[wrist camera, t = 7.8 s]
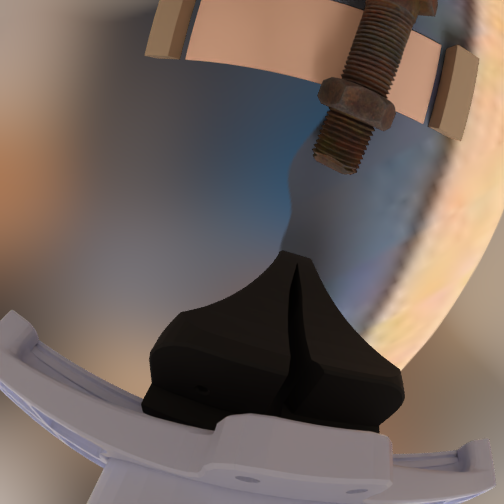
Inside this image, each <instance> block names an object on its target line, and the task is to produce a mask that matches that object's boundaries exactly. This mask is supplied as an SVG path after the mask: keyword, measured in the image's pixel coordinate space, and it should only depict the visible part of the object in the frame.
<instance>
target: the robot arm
mask: <svg viewBox="0 0 504 504" xmlns="http://www.w3.org/2000/svg"><path fill="white" fill-rule="evenodd" d="M149 362H150V371H151V380H152V384H151V386H150V388H149V390H148V391H147V393H146V395H145V397H144V399H142V398H140V397H137V396H135V395H133V394H131V393H129V392H127V391H125V390H123V389H121V388H119V387H117V386H114V385H113V384H111V383H109V382H107V381H105V380H103V379H101V378H99V377H97V376H95V375H94V374H92V373H90V372H88V371H87V370H85V369H83V368H82V367H80V366H78V365H76V364H75V363H73V362H71V361H70V360H68V359H67V358H65V357H63V356H62V355H60V354H59V353H57V352H56V351H54V350H53V349H51V348H50V347H48V346H47V345H45V344H44V343H42V342H41V341H40V340H39V338H38V335H37V332H36V330H35V329H34V327H33V326H32V325H31V324H30V323H29V322H28V321H27V320H26V319H24V318H23V317H22V316H20V315H19V314H18V313H16V312H15V311H14V310H10V311H9V312H8V313H7V314H6V315H5V316H4V318H3V319H2V320H1V321H0V389H1V391H2V392H3V393H4V394H5V395H7V396H8V397H9V398H10V399H11V400H12V401H13V402H14V403H15V404H16V405H17V406H19V407H20V408H21V409H22V410H23V411H24V412H25V413H27V414H28V415H29V416H30V417H31V418H33V419H34V420H35V421H36V422H37V423H39V424H40V425H41V426H42V427H43V428H45V429H46V430H47V431H49V432H50V433H51V434H53V435H54V436H55V437H57V438H58V439H60V440H61V441H62V442H63V443H65V444H66V445H68V446H69V447H71V448H72V449H74V450H75V451H76V452H78V453H80V454H81V455H83V456H84V457H86V458H87V459H89V460H91V461H92V462H94V463H96V464H97V465H99V466H101V467H102V468H104V469H103V472H102V474H101V476H100V478H99V480H98V482H97V484H96V486H95V488H94V490H93V492H92V494H91V496H90V498H89V500H88V502H87V504H460V503H463V502H465V501H467V500H469V499H472V498H473V497H476V496H478V495H480V494H482V493H484V492H486V491H488V490H490V489H492V488H494V487H495V486H496V479H495V471H494V464H493V458H492V452H491V447H490V442H489V439H488V438H484V439H477V440H473V441H470V442H468V443H466V444H465V445H463V446H461V447H460V448H459V449H458V450H453V451H444V452H433V453H417V454H393V453H392V443H391V441H390V439H389V437H387V436H386V435H382V434H379V425H380V424H381V423H383V422H384V421H385V420H386V419H388V418H389V417H390V416H391V415H392V414H393V413H395V412H396V411H397V410H398V409H399V407H400V406H401V405H402V403H403V401H404V398H405V394H404V387H403V381H402V376H401V372H400V369H399V368H397V367H396V366H395V365H393V364H392V363H391V362H389V361H388V360H387V359H385V358H384V357H383V356H381V355H380V354H379V353H378V352H377V351H376V350H374V349H373V348H372V347H371V346H370V345H369V344H368V343H367V342H366V341H365V340H364V339H363V338H362V337H361V336H360V335H359V334H358V333H357V332H356V331H355V330H354V329H353V327H352V326H351V325H350V324H349V323H348V322H347V320H346V319H345V318H344V316H343V315H342V314H341V312H340V311H339V310H338V308H337V307H336V305H335V304H334V302H333V301H332V299H331V297H330V296H329V294H328V292H327V291H326V289H325V287H324V285H323V283H322V281H321V279H320V277H319V275H318V273H317V271H316V269H315V266H314V264H313V262H312V260H311V259H310V258H306V257H303V256H300V255H296V254H293V253H290V252H286V251H283V250H282V251H280V252H279V254H278V256H277V258H276V259H275V260H274V262H273V263H272V264H271V265H270V266H269V268H267V270H266V271H265V272H264V273H262V274H261V275H260V276H259V277H258V278H257V279H255V280H254V281H253V282H252V283H250V284H249V285H248V286H246V287H245V288H243V289H242V290H240V291H238V292H236V293H235V294H233V295H231V296H230V297H227V298H225V299H223V300H221V301H218V302H216V303H213V304H211V305H208V306H205V307H201V308H197V309H194V310H189V311H185V312H181V313H180V314H178V315H177V317H175V319H174V320H173V321H172V322H171V323H170V324H169V325H168V326H167V327H166V329H165V330H164V331H163V332H162V334H161V335H160V337H159V338H158V340H157V342H156V343H155V345H154V347H153V349H152V350H151V352H150V358H149Z"/></svg>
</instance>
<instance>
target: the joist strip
mask: <svg viewBox="0 0 504 504" xmlns="http://www.w3.org/2000/svg"><path fill="white" fill-rule="evenodd" d="M195 2H196V0H160V1H159V4H158V7H157V11H156V14H155V17H154V21H153V24H152V28H151V32H150V36H149V40H148V43H147V48H146V52H145V56H149V57H154V58H158V59H159V58H160V59H180V57H181V52H182V49H183V45H184V41H185V37H186V33H187V30H188V26H189V22H190V19H191V15H192V12H193V8H194V5H195ZM363 12H364V11H363V10H360V9H357V8H354V7H351V6H348V5H345V4H341V3H338V2H334V1H330V0H201V3H200V6H199V10H198V13H197V17H196V20H195V24H194V27H193V31H192V35H191V39H190V43H189V46H188V50H187V54H186V60H196V61H206V62H207V61H208V62H217V63H224V64H231V65H238V66H244V67H250V68H256V69H261V70H266V71H271V72H276V73H280V74H285V75H289V76H293V77H298V78H301V79H305V80H309V81H312V82H316V83H319V84H322V82H323V80H325V79H328V78H330V77H335V78H342V77H341V74H344V73H343V71H342V70H344V69H345V67H344V65H347V64H346V60H348V59H347V57H348V56H350V55H349V52H350V51H351V50H350V48H351V47H352V43H354V42H353V40H354V39H355V37H354V36H355V35H356V31H357V30H358V29H357V28H358V26H359V23H360V20H361V19H362V15H363ZM407 41H408V42H407V44H406V47H405V48H404V52H403V55H402V60H400V61H401V63H400V64H398V65H399V68H396V69H397V70H398V71H397V72H396V73H395V74H396V76H395V77H393V78H394V79H395V80H394V81H391V82H392V84H393V85H390V88H391V90H388V92H389V93H390V94H386V96H387V97H388V98H387V99H388V100H389V101H391V102H392V103H393V104H394V106H395V111H396V112H399V113H401V114H403V115H405V116H407V117H410V118H412V119H414V120H416V121H418V122H420V123H422V124H423V123H424V119H425V116H426V112H427V108H428V105H429V101H430V97H431V93H432V89H433V84H434V80H435V76H436V71H437V66H438V61H439V56H440V50H441V45H440V44H438V43H436V42H434V41H432V40H430V39H429V38H427V37H425V36H423V35H421V34H419V33H417V32H415V31H413V30H411V32H410V36H409V39H408V40H407ZM478 65H479V58H477V57H476V56H474V55H473V54H472V53H470V52H469V51H467V50H465V49H464V48H462V47H461V46H459V45H455V46H452V47H450V48H447V49H446V53H445V59H444V64H443V69H442V74H441V79H440V83H439V88H438V92H437V96H436V100H435V104H434V108H433V111H432V115H431V118H430V122H429V125H428V127H430V128H432V129H434V130H436V131H438V132H439V133H441V134H443V135H445V136H447V137H449V138H452V139H455V140H459V141H461V139H462V136H463V133H464V129H465V125H466V122H467V118H468V114H469V110H470V106H471V101H472V97H473V92H474V87H475V82H476V77H477V71H478Z"/></svg>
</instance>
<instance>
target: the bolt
mask: <svg viewBox="0 0 504 504" xmlns="http://www.w3.org/2000/svg"><path fill="white" fill-rule="evenodd" d="M365 3H366V5H365V6H366V7H365V9H364V12H363V15H362V19H361V20H360V23H359V26H358V28H357V29H358V30H357V31H356V35H355V36H354V37H355V39H354V40H353V42H354V43H352V47H351V48H350V50H351V51H350V52H349V55H350V56H348V57H347V59H348V60H346V64H347V65H344V67H345V69H344V70H342V71H343V73H344V74H341V77H342V78H335V77H330V78H328V79H325V80H323V82H322V84H321V87H320V90H319V92H318V98H319V100H320V102H321V104H324V105H326V106H328V107H329V109H330V110H331V111H328V112H327V113H328V114H329V115H328V116H325V118H326V119H327V120H326V121H323V122H324V123H325V125H322V127H323V129H322V130H320V132H321V133H322V134H320V135H318V137H319V138H320V139H318V140H316V141H317V144H314V146H315V147H316V148H314V149H312V150H313V152H314V154H313V157H314V158H315V160H316V161H318V162H320V163H322V164H324V165H326V166H327V167H330V168H332V169H333V170H335V171H337V172H339V173H342V174H350V175H351V174H354V173H357V170H356V169H357V168H359V166H358V164H361V162H360V159H363V158H362V155H364V154H365V153H364V151H363V150H367V148H366V146H365V145H369V144H368V141H369V140H371V139H370V137H369V136H373V134H372V132H371V131H375V130H374V128H373V127H376V128H378V129H380V130H382V131H385V130H387V129H389V128H390V127H391V124H392V122H393V119H394V117H395V114H396V111H395V106H394V104H393V103H392V102H391V101H389V100H388V99H387V98H388V97H387V96H386V94H390V93H389V92H388V90H391V88H390V85H393V84H392V82H391V81H394V80H395V79H394V78H393V77H395V76H396V74H395V73H396V72H397V71H398V70H397V69H396V68H399V65H398V64H400V63H401V61H400V60H402V55H403V52H404V48H405V47H406V44H407V42H408V41H407V40H408V39H409V36H410V32H411V30H412V27H413V24H415V22H416V19H417V15H423V16H435V15H436V11H437V7H438V2H437V0H366V2H365Z"/></svg>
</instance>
